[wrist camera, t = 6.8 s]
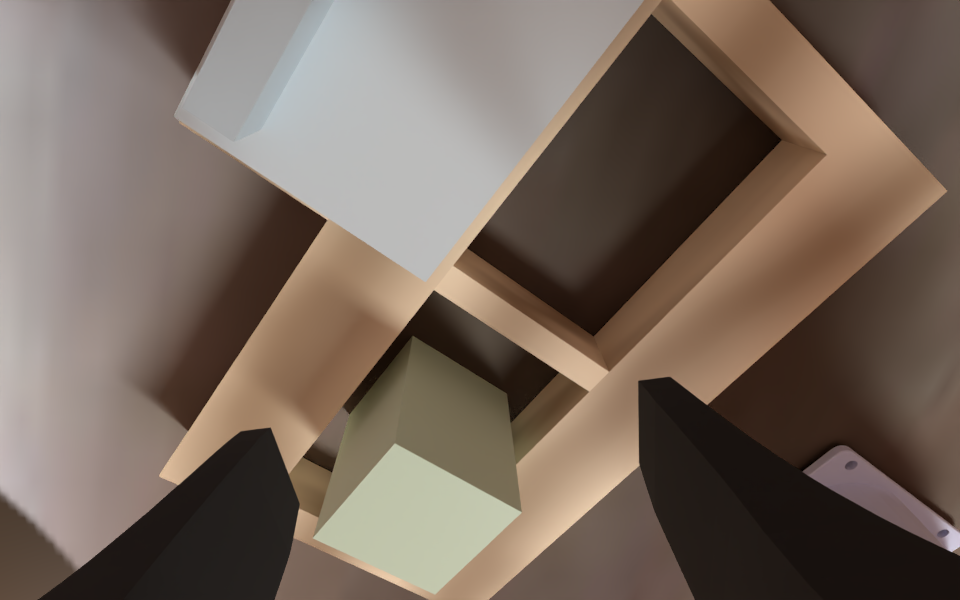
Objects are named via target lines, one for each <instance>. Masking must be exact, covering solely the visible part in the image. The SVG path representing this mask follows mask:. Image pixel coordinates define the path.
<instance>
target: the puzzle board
mask: <svg viewBox="0 0 960 600" xmlns="http://www.w3.org/2000/svg"><path fill="white" fill-rule="evenodd" d="M651 14H652V15H653V16H654V17H655V18H656V19H657V20H658V21H659V22H660V23H661V24H662V25H663V26H664V27H665V28H666V29H667V30H668V31H670V32H671V33H672V34H673V35H674V36H675V37H676V38H677V39H678V40H679V41H680V42H681V43H682V44H683V45H684V46H685V47H686V48H687V49H688V50H689V51H690V52H691V53H692V54H693V55H694V56H695V57H696V58H697V59H698V60H699V61H701V62H702V63H703V64H704V65H705V66H706V67H707V68H708V69H709V70H710V71H711V72H712V73H713V74H714V75H715V76H716V77H717V78H718V79H719V80H720V81H721V82H722V83H723V84H724V85H725V86H726V87H727V88H728V89H729V90H730V91H732V92H733V93H734V94H735V95H736V96H737V97H738V98H739V99H740V100H741V101H742V102H743V103H744V104H745V105H746V106H747V107H748V108H749V109H750V110H751V111H752V112H753V113H754V114H755V115H756V116H757V117H758V118H759V119H760V120H761V121H763V122H764V123H765V124H766V125H767V126H768V127H769V128H770V129H771V130H772V131H773V132H774V133H775V134H776V135H777V136H778V137H779V138H780V139H781V140H782V141H781V142H780V143H779V144H778V145H777V146H776V147H775V148H774V149H773V150H772V151H771V152H770V153H769V154H768V155H767V156H766V157H765V158H764V159H763V160H762V161H761V162H760V163H759V165H758V166H757V167H756V168H755V169H754V170H753V171H752V172H751V173H750V174H749V175H748V176H747V177H746V178H745V179H744V180H743V181H742V182H741V183H740V184H739V185H738V186H737V187H736V189H735V190H734V191H733V192H732V193H731V194H730V195H729V196H728V197H727V198H726V199H725V200H724V201H723V202H722V203H721V204H720V205H719V206H718V207H717V208H716V209H715V210H714V211H713V213H712V214H711V215H710V216H709V217H708V218H707V219H706V220H705V221H704V222H703V223H702V224H701V225H700V226H699V227H698V228H697V229H696V230H695V231H694V232H693V233H692V234H691V235H690V237H689V238H688V239H687V240H686V241H685V242H684V243H683V244H682V245H681V246H680V247H679V248H678V249H677V250H676V251H675V252H674V253H673V254H672V255H671V256H670V257H669V258H668V259H667V261H666V262H665V263H664V264H663V265H662V266H661V267H660V268H659V269H658V270H657V271H656V272H655V273H654V274H653V275H652V276H651V277H650V278H649V279H648V280H647V281H646V282H645V284H644V285H643V286H642V287H641V288H640V289H639V290H638V291H637V292H636V293H635V294H634V295H633V296H632V297H631V298H630V299H629V300H628V301H627V302H626V303H625V304H624V305H623V306H622V308H621V309H620V310H619V311H618V312H617V313H616V314H615V315H614V316H613V317H612V318H611V319H610V320H609V321H608V322H607V323H606V324H605V325H604V326H603V327H602V328H601V329H600V330H599V332H598V333H597V334H596V335H595V336H592V335H591V334H589V333H588V332H586V331H585V330H584V329H582V328H581V327H579V326H578V325H576V324H575V323H573V322H572V321H571V320H569V319H568V318H566V317H565V316H563V315H562V314H561V313H559V312H558V311H556V310H555V309H553V308H552V307H551V306H549V305H548V304H546V303H545V302H543V301H542V300H540V299H539V298H538V297H536V296H535V295H533V294H532V293H530V292H529V291H528V290H526V289H525V288H523V287H522V286H520V285H519V284H518V283H516V282H515V281H513V280H512V279H510V278H509V277H508V276H506V275H505V274H503V273H502V272H500V271H499V270H497V269H496V268H495V267H493V266H492V265H490V264H489V263H487V262H486V261H485V260H483V259H482V258H480V257H479V256H477V255H476V254H475V253H473V252H472V251H470V250H469V249H467V247H468V246H469V245H470V243H471V242H472V241H473V240H474V238H475V237H476V236H477V235H478V233H479V232H480V231H481V229H482V228H483V227H484V226H485V224H486V223H487V222H488V221H489V219H490V218H491V217H492V215H493V214H494V213H495V212H496V210H497V209H498V208H499V207H500V205H501V204H502V203H503V202H504V200H505V199H506V198H507V196H508V195H509V194H510V193H511V191H512V190H513V189H514V188H515V186H516V185H517V184H518V182H519V181H520V180H521V179H522V177H523V176H524V175H525V174H526V172H527V171H528V170H529V168H530V167H531V166H532V165H533V163H534V162H535V161H536V160H537V158H538V157H539V156H540V155H541V153H542V152H543V151H544V149H545V148H546V147H547V146H548V144H549V143H550V142H551V141H552V139H553V138H554V137H555V135H556V134H557V133H558V132H559V130H560V129H561V128H562V127H563V125H564V124H565V123H566V121H567V120H568V119H569V118H570V116H571V115H572V114H573V113H574V111H575V110H576V109H577V108H578V106H579V105H580V104H581V102H582V101H583V100H584V99H585V97H586V96H587V95H588V94H589V92H590V91H591V90H592V88H593V87H594V86H595V85H596V83H597V82H598V81H599V80H600V78H601V77H602V76H603V74H604V73H605V72H606V71H607V69H608V68H609V67H610V66H611V64H612V63H613V62H614V61H615V59H616V58H617V57H618V55H619V54H620V53H621V52H622V50H623V49H624V48H625V47H626V45H627V44H628V43H629V41H630V40H631V39H632V38H633V36H634V35H635V34H636V33H637V31H638V30H639V29H640V27H641V26H642V25H643V24H644V22H645V21H646V20H647V19H648V17H649V16H650V15H651ZM179 123H180V124H182V125H183V126H185V127H186V128H188V129H189V130H191V131H192V132H194V133H195V134H197V135H199V136H200V137H202V138H203V139H205V140H206V141H208V142H209V143H211V144H212V145H214V146H215V147H217V148H218V149H220V150H221V151H223V152H224V153H226V154H228V155H229V156H231V157H232V158H234V159H235V160H237V161H238V162H240V163H241V164H243V165H244V166H246V167H247V168H249V169H250V170H252V171H253V172H255V173H256V174H258V175H260V176H261V177H263V178H264V179H266V180H267V181H269V182H270V183H272V184H273V185H275V186H276V187H278V188H279V189H281V190H282V191H284V192H285V193H287V194H289V195H290V196H292V197H293V198H295V199H296V200H298V201H299V202H301V203H302V204H304V205H305V206H307V207H308V208H310V209H311V210H313V211H314V212H316V213H317V214H319V215H321V216H322V217H324V218H325V219H327V222H326V223H325V225H324V226H323V228H322V229H321V231H320V232H319V234H318V235H317V237H316V238H315V240H314V241H313V243H312V244H311V246H310V248H309V249H308V251H307V252H306V254H305V255H304V257H303V258H302V260H301V261H300V263H299V264H298V266H297V267H296V269H295V270H294V272H293V273H292V275H291V276H290V278H289V279H288V281H287V282H286V284H285V285H284V287H283V288H282V290H281V291H280V293H279V294H278V296H277V298H276V299H275V301H274V302H273V304H272V305H271V307H270V308H269V310H268V311H267V313H266V314H265V316H264V317H263V319H262V320H261V322H260V323H259V325H258V326H257V328H256V329H255V331H254V332H253V334H252V335H251V337H250V338H249V340H248V341H247V343H246V344H245V346H244V348H243V349H242V351H241V352H240V354H239V355H238V357H237V358H236V360H235V361H234V363H233V364H232V366H231V367H230V369H229V370H228V372H227V373H226V375H225V376H224V378H223V379H222V381H221V382H220V384H219V385H218V387H217V388H216V390H215V391H214V393H213V395H212V396H211V398H210V399H209V401H208V402H207V404H206V405H205V407H204V408H203V410H202V411H201V413H200V414H199V416H198V417H197V419H196V420H195V422H194V423H193V425H192V426H191V428H190V429H189V431H188V432H187V434H186V435H185V437H184V438H183V440H182V441H181V443H180V445H179V446H178V448H177V449H176V451H175V452H174V454H173V455H172V457H171V458H170V460H169V461H168V463H167V464H166V466H165V467H164V469H163V470H162V472H161V473H160V475H159V477H162V478H164V479H166V480H168V481H170V482H173V483H175V484H177V485H179V484H180V483H181V482H183V481H184V480H185V479H186V478H187V477H188V476H189V475H190V474H192V473H193V472H194V471H195V470H196V469H197V468H198V467H199V466H200V465H202V464H203V463H204V462H205V461H206V460H207V459H208V458H209V457H210V456H212V455H213V454H214V453H215V452H216V451H217V450H218V449H220V448H221V447H222V446H223V445H224V444H225V443H227V442H228V441H229V440H230V439H231V438H233V437H234V436H235V435H236V434H238V433H239V432H240V431H246V430H254V429H262V428H270V427H271V429H272V432H273V435H274V437H275V440H276V442H277V445H278V448H279V450H280V453H281V456H282V458H283V461H284V463H285V466H286V469H287V471H288V474H289V477H290V479H291V482H292V484H293V487H294V490H295V492H296V495H297V498H298V500H299V503H300V506H299V511H298V517H297V522H296V527H295V532H294V537H293V538H295V539H298V540H300V541H302V542H304V543H306V544H309V545H311V546H313V547H315V548H317V549H320V550H322V551H324V552H326V553H328V554H331V555H333V556H335V557H337V558H339V559H342V560H344V561H346V562H348V563H350V564H352V565H355V566H357V567H359V568H361V569H363V570H366V571H368V572H370V573H372V574H374V575H377V576H379V577H381V578H383V579H385V580H388V581H390V582H392V583H394V584H396V585H399V586H401V587H403V588H405V589H407V590H410V591H412V592H414V593H416V594H418V595H420V596H423V597H425V598H427V599H429V600H489V599H490V598H491V597H492V596H493V595H494V594H495V593H496V592H498V591H499V590H500V589H501V588H502V587H503V586H504V585H505V584H507V583H508V582H509V581H510V580H511V579H512V578H513V577H514V576H515V575H517V574H518V573H519V572H520V571H521V570H522V569H523V568H524V567H526V566H527V565H528V564H529V563H530V562H531V561H532V560H533V559H535V558H536V557H537V556H538V555H539V554H540V553H541V552H542V551H544V550H545V549H546V548H547V547H548V546H549V545H550V544H551V543H553V542H554V541H555V540H556V539H557V538H558V537H559V536H560V535H562V534H563V533H564V532H565V531H566V530H567V529H568V528H569V527H571V526H572V525H573V524H574V523H575V522H576V521H577V520H578V519H580V518H581V517H582V516H583V515H584V514H585V513H586V512H587V511H589V510H590V509H591V508H592V507H593V506H594V505H595V504H596V503H598V502H599V501H600V500H601V499H602V498H603V497H604V496H605V495H607V494H608V493H609V492H610V491H611V490H612V489H613V488H614V487H615V486H617V485H618V484H619V483H620V482H621V481H622V480H623V479H624V478H626V477H627V476H628V475H629V474H630V473H631V472H632V471H633V470H635V469H636V468H637V467H638V466H639V465H640V464H639V417H638V381H640V380H647V379H655V378H663V377H671V378H673V379H674V380H675V381H677V382H678V383H679V384H681V385H682V386H683V387H684V388H686V389H687V390H688V391H690V392H691V393H692V394H693V395H695V396H696V397H697V398H699V399H700V400H701V401H702V402H704V403H705V404H706V405H708V404H709V403H710V402H711V401H712V400H713V399H714V398H715V397H717V396H718V395H719V394H720V393H721V392H722V391H723V390H724V389H726V388H727V387H728V386H729V385H730V384H731V383H732V382H733V381H735V380H736V379H737V378H738V377H739V376H740V375H741V374H742V373H744V372H745V371H746V370H747V369H748V368H749V367H750V366H751V365H753V364H754V363H755V362H756V361H757V360H758V359H759V358H760V357H762V356H763V355H764V354H765V353H766V352H767V351H768V350H769V349H771V348H772V347H773V346H774V345H775V344H776V343H777V342H778V341H780V340H781V339H782V338H783V337H784V336H785V335H786V334H787V333H789V332H790V331H791V330H792V329H793V328H794V327H795V326H796V325H798V324H799V323H800V322H801V321H802V320H803V319H804V318H805V317H806V316H808V315H809V314H810V313H811V312H812V311H813V310H814V309H815V308H817V307H818V306H819V305H820V304H821V303H822V302H823V301H824V300H826V299H827V298H828V297H829V296H830V295H831V294H832V293H833V292H835V291H836V290H837V289H838V288H839V287H840V286H841V285H842V284H844V283H845V282H846V281H847V280H848V279H849V278H850V277H851V276H853V275H854V274H855V273H856V272H857V271H858V270H859V269H860V268H862V267H863V266H864V265H865V264H866V263H867V262H868V261H869V260H871V259H872V258H873V257H874V256H875V255H876V254H877V253H878V252H880V251H881V250H882V249H883V248H884V247H885V246H886V245H887V244H889V243H890V242H891V241H892V240H893V239H894V238H895V237H896V236H898V235H899V234H900V233H901V232H902V231H903V230H904V229H905V228H906V227H908V226H909V225H910V224H911V223H912V222H913V221H914V220H915V219H917V218H918V217H919V216H920V215H921V214H922V213H923V212H924V211H926V210H927V209H928V208H929V207H930V206H931V205H932V204H933V203H935V202H936V201H937V200H938V199H939V198H940V197H941V196H942V195H944V194H945V193H946V192H947V190H946V189H945V188H944V187H943V186H942V185H941V184H940V183H939V182H938V180H937V179H936V178H935V177H934V176H933V175H932V174H931V173H930V172H929V171H928V170H927V169H926V168H925V167H924V165H923V164H922V163H921V162H920V161H919V160H918V159H917V158H916V157H915V156H914V155H913V154H912V153H911V152H910V150H909V149H908V148H907V147H906V146H905V145H904V144H903V143H902V142H901V141H900V140H899V139H898V138H897V137H896V135H895V134H894V133H893V132H892V131H891V130H890V129H889V128H888V127H887V126H886V125H885V124H884V123H883V121H882V120H881V119H880V118H879V117H878V116H877V115H876V114H875V113H874V112H873V111H872V110H871V109H870V108H869V106H868V105H867V104H866V103H865V102H864V101H863V100H862V99H861V98H860V97H859V96H858V95H857V94H856V93H855V91H854V90H853V89H852V88H851V87H850V86H849V85H848V84H847V83H846V82H845V81H844V80H843V79H842V78H841V76H840V75H839V74H838V73H837V72H836V71H835V70H834V69H833V68H832V67H831V66H830V65H829V64H828V63H827V61H826V60H825V59H824V58H823V57H822V56H821V55H820V54H819V53H818V52H817V51H816V50H815V49H814V48H813V46H812V45H811V44H810V43H809V42H808V41H807V40H806V39H805V38H804V37H803V36H802V35H801V34H800V33H799V31H798V30H797V29H796V28H795V27H794V26H793V25H792V24H791V23H790V22H789V21H788V20H787V19H786V17H785V16H784V15H783V14H782V13H781V12H780V11H779V10H778V9H777V8H776V7H775V6H774V5H773V4H772V2H771V1H770V0H644V1H643V2H642V4H641V5H640V6H639V8H638V9H637V10H636V12H635V13H634V14H633V15H632V17H631V18H630V19H629V21H628V22H627V23H626V24H625V26H624V27H623V28H622V30H621V31H620V32H619V33H618V35H617V36H616V37H615V39H614V40H613V41H612V42H611V44H610V45H609V46H608V48H607V49H606V50H605V51H604V53H603V54H602V55H601V57H600V58H599V59H598V61H597V62H596V63H595V64H594V66H593V67H592V68H591V70H590V71H589V72H588V73H587V75H586V76H585V77H584V79H583V80H582V81H581V82H580V84H579V85H578V86H577V88H576V89H575V90H574V91H573V93H572V94H571V95H570V97H569V98H568V99H567V101H566V102H565V103H564V104H563V106H562V107H561V108H560V110H559V111H558V112H557V113H556V115H555V116H554V117H553V119H552V120H551V121H550V122H549V124H548V125H547V126H546V128H545V129H544V130H543V131H542V133H541V134H540V135H539V137H538V138H537V139H536V140H535V142H534V143H533V144H532V146H531V147H530V148H529V150H528V151H527V152H526V153H525V155H524V156H523V157H522V159H521V160H520V161H519V162H518V164H517V165H516V166H515V168H514V169H513V170H512V171H511V173H510V174H509V175H508V177H507V178H506V179H505V180H504V182H503V183H502V184H501V186H500V187H499V188H498V190H497V191H496V192H495V193H494V195H493V196H492V197H491V199H490V200H489V201H488V202H487V204H486V205H485V206H484V208H483V209H482V210H481V211H480V213H479V214H478V215H477V217H476V218H475V219H474V220H473V222H472V223H471V224H470V226H469V227H468V228H467V229H466V231H465V232H464V233H463V235H462V236H461V237H460V239H459V240H458V241H457V242H456V244H455V245H454V246H453V248H452V249H451V250H450V251H449V253H448V254H447V255H446V257H445V258H444V259H443V260H442V262H441V263H440V264H439V266H438V267H437V268H436V269H435V271H434V272H433V273H432V275H431V276H430V277H429V279H428V280H427V281H426V282H424V281H423V280H421V279H420V278H418V277H417V276H415V275H414V274H412V273H411V272H409V271H408V270H406V269H405V268H403V267H402V266H400V265H399V264H397V263H395V262H394V261H392V260H391V259H389V258H388V257H386V256H385V255H383V254H382V253H380V252H379V251H377V250H376V249H374V248H373V247H371V246H370V245H368V244H367V243H365V242H364V241H362V240H360V239H359V238H357V237H356V236H354V235H353V234H351V233H350V232H348V231H347V230H345V229H344V228H342V227H341V226H339V225H338V224H336V223H335V222H333V221H332V220H330V219H329V218H327V217H325V216H324V215H322V214H321V213H319V212H318V211H316V210H315V209H313V208H312V207H310V206H309V205H307V204H306V203H304V202H303V201H301V200H300V199H298V198H297V197H295V196H294V195H292V194H290V193H289V192H287V191H286V190H284V189H283V188H281V187H280V186H278V185H277V184H275V183H274V182H272V181H271V180H269V179H268V178H266V177H265V176H263V175H262V174H260V173H259V172H257V171H255V170H254V169H252V168H251V167H249V166H248V165H246V164H245V163H243V162H242V161H240V160H239V159H237V158H236V157H234V156H233V155H231V154H230V153H228V152H227V151H225V150H223V149H222V148H220V147H219V146H217V145H216V144H214V143H213V142H211V141H210V140H208V139H207V138H205V137H204V136H202V135H201V134H199V133H198V132H196V131H195V130H193V129H192V128H190V127H188V126H187V125H185V124H184V123H182V122H181V121H180V122H179ZM433 290H435V291H436V292H438V293H439V294H441V295H443V296H444V297H446V298H447V299H449V300H450V301H452V302H453V303H455V304H456V305H458V306H459V307H461V308H462V309H464V310H465V311H467V312H468V313H470V314H472V315H473V316H475V317H476V318H478V319H479V320H481V321H482V322H484V323H485V324H487V325H488V326H490V327H491V328H493V329H494V330H496V331H497V332H499V333H500V334H502V335H504V336H505V337H507V338H508V339H510V340H511V341H513V342H514V343H516V344H517V345H519V346H520V347H522V348H523V349H525V350H526V351H528V352H529V353H531V354H533V355H534V356H536V357H537V358H539V359H540V360H542V361H543V362H545V363H546V364H548V365H549V366H551V367H552V368H554V369H555V370H557V371H558V372H559V373H558V374H557V375H556V376H555V377H554V378H553V380H552V381H551V382H550V383H549V384H548V385H547V386H546V387H545V388H544V389H543V390H542V391H541V392H540V393H539V394H538V395H537V396H536V397H535V398H534V399H533V400H532V401H531V402H530V404H529V405H528V406H527V407H526V408H525V409H524V410H523V411H522V412H521V413H520V414H519V415H518V416H517V417H516V418H515V419H514V420H513V421H512V422H511V429H512V437H513V445H514V453H515V461H516V469H517V477H518V485H519V493H520V501H521V509H522V513H521V514H520V515H519V516H518V517H517V518H515V519H514V520H513V521H512V522H511V523H510V524H509V525H508V526H507V527H506V528H505V529H504V530H503V531H502V532H501V533H500V534H499V535H498V536H496V537H495V538H494V539H493V540H492V541H491V542H490V543H489V544H488V545H487V546H486V547H485V548H484V549H483V550H482V551H481V552H480V553H478V554H477V555H476V556H475V557H474V558H473V559H472V560H471V561H470V562H469V563H468V564H467V565H466V566H465V567H464V568H463V569H462V570H461V571H459V572H458V573H457V574H456V575H455V576H454V577H453V578H452V579H451V580H450V581H449V582H448V583H447V584H446V585H445V586H444V587H443V588H441V589H440V590H439V591H438V592H437V593H436V594H433V593H430V592H428V591H426V590H424V589H422V588H419V587H417V586H415V585H413V584H411V583H409V582H406V581H404V580H402V579H400V578H398V577H396V576H393V575H391V574H389V573H387V572H385V571H383V570H380V569H378V568H376V567H374V566H372V565H370V564H367V563H365V562H363V561H361V560H359V559H357V558H354V557H352V556H350V555H348V554H346V553H344V552H341V551H339V550H337V549H335V548H333V547H330V546H328V545H326V544H324V543H322V542H320V541H317V540H315V539H313V536H314V532H315V529H316V525H317V522H318V519H319V515H320V512H321V509H322V505H323V502H324V499H325V495H326V492H327V489H328V485H329V482H330V478H331V475H332V472H330V471H328V470H326V469H324V468H322V467H320V466H318V465H316V464H314V463H312V462H310V461H308V460H306V459H304V458H302V457H303V456H304V454H305V453H306V452H307V450H308V449H309V448H310V447H311V445H312V444H313V443H314V442H315V440H316V439H317V438H318V437H319V435H320V434H321V433H322V431H323V430H324V429H325V428H326V426H327V425H328V424H329V423H330V421H331V420H332V419H333V417H334V416H335V415H336V414H337V412H338V411H339V410H340V409H341V407H342V406H343V405H344V403H345V402H346V401H347V400H348V398H349V397H350V396H351V395H352V393H353V392H354V391H355V390H356V388H357V387H358V386H359V384H360V383H361V382H362V381H363V379H364V378H365V377H366V376H367V374H368V373H369V372H370V370H371V369H372V368H373V367H374V365H375V364H376V363H377V362H378V360H379V359H380V358H381V356H382V355H383V354H384V353H385V351H386V350H387V349H388V348H389V346H390V345H391V344H392V343H393V341H394V340H395V339H396V337H397V336H398V335H399V334H400V332H401V331H402V330H403V329H404V327H405V326H406V325H407V323H408V322H409V321H410V320H411V318H412V317H413V316H414V315H415V313H416V312H417V311H418V309H419V308H420V307H421V306H422V304H423V303H424V302H425V301H426V299H427V298H428V297H429V296H430V294H431V293H432V292H433Z"/></svg>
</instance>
